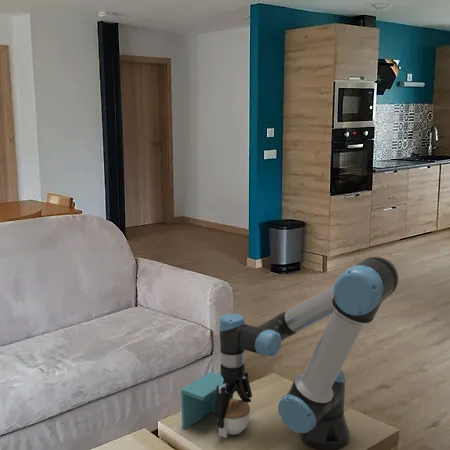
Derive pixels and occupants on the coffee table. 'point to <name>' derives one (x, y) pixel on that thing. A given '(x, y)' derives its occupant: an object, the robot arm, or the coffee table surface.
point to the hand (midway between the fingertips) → (233, 428)
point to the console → (199, 398)
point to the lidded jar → (237, 416)
